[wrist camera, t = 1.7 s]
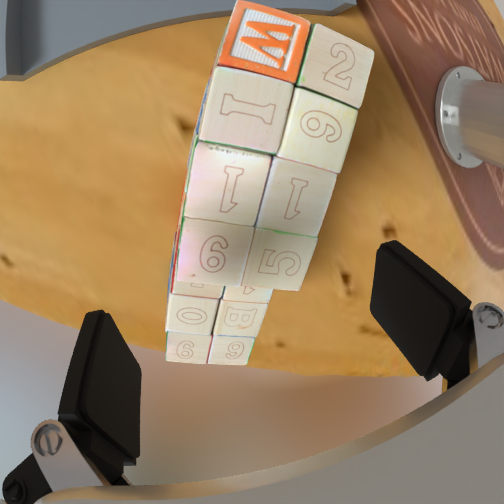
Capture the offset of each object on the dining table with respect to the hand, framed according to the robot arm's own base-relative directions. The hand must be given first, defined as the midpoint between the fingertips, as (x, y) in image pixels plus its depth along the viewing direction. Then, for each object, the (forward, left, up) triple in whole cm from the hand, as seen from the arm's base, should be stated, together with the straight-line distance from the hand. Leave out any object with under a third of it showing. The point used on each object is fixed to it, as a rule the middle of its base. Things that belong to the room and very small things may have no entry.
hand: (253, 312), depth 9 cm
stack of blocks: (0, 0, -16) cm, 16 cm away
